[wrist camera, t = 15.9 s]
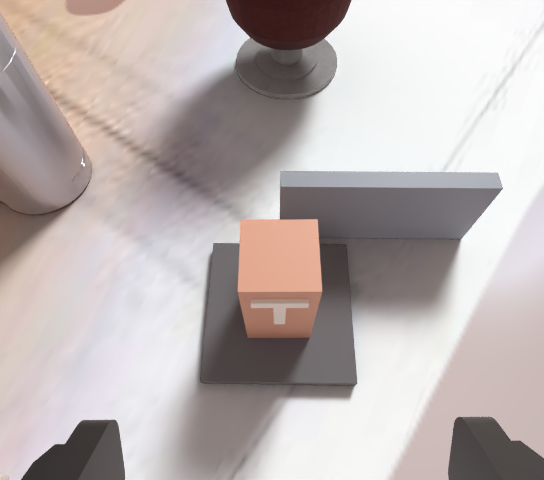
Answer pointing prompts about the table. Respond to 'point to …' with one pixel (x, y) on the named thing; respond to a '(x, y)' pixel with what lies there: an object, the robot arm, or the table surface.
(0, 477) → the chinaware
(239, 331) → the charcoal mat
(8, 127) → the robot arm
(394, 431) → the table surface
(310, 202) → the slate screen
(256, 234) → the terracotta block
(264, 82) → the mate gourd
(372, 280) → the table surface
